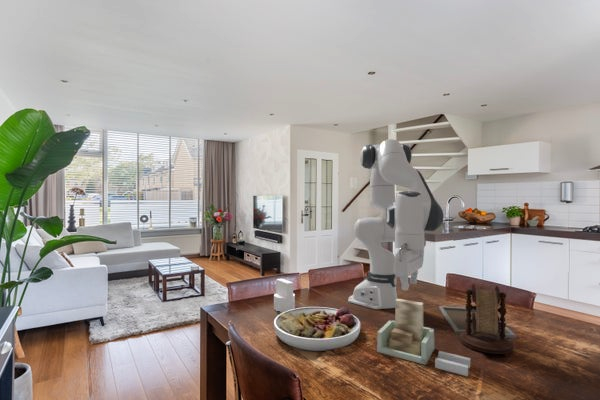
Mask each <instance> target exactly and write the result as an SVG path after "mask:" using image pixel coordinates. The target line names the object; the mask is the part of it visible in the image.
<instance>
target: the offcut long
mask: <svg viewBox="0 0 600 400" xmlns="http://www.w3.org/2000/svg"><path fill="white" fill-rule="evenodd" d="M390 349H394V350H398V351H401V352H405V353H409V354H413V355H417V356H420V355H421V342H417V341H413V342H412V344H408V343H404V342H400V341H395V340H391V338H390Z"/></svg>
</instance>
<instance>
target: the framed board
mask: <svg viewBox="0 0 600 400" xmlns="http://www.w3.org/2000/svg"><path fill="white" fill-rule="evenodd" d="M438 307H439V310H440V311H441V313H442V314H443V316H444V318H445V319H446V321H447V323H448V324H449V325H450V326H451V328H452V330H453V331H454V333H457V334H460V333H462V332H464V331H466V328H467V325H466V324H467V323H466V321H465V320H466V318H467V317H466V314H467V311H466V306H465V307H464V306H445V305H439V306H438ZM473 312H474V313H475V318H476V310H474V309H473V310H471V312H470V313H471V319H472V313H473ZM500 322H501V321H500ZM470 327H471V330H473V327H472V323H471V326H470ZM500 328H501V327H500ZM504 329H505V330H504V332H505V334H506V336H505V338H506V339H517V335H516V334H515V333H514V332H513V331H512V330H511V329H510V328H509V327H508V326H506V327H505V328H504ZM500 331H501V330H500Z"/></svg>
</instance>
